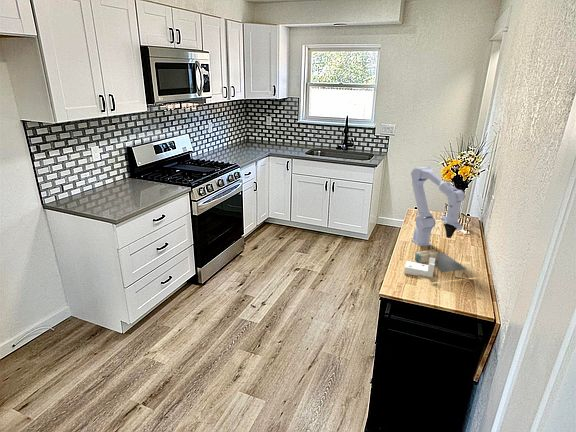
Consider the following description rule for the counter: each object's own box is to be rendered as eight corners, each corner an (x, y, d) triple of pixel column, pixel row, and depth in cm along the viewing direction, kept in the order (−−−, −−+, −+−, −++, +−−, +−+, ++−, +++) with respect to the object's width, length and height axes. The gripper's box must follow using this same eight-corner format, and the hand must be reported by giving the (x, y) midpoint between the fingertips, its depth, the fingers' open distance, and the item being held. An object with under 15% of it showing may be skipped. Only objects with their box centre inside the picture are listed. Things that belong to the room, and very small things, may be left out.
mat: (420, 255, 198) (420, 254, 198) (443, 253, 201) (443, 252, 201) (441, 273, 181) (441, 271, 181) (466, 270, 184) (466, 269, 184)
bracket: (433, 272, 182) (435, 258, 179) (432, 279, 176) (434, 264, 173) (405, 267, 187) (407, 253, 184) (403, 273, 181) (405, 259, 178)
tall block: (433, 256, 195) (415, 259, 194) (433, 249, 193) (415, 252, 192) (437, 260, 191) (419, 263, 190) (438, 253, 189) (419, 256, 188)
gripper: (438, 209, 197) (434, 232, 201) (455, 218, 183) (450, 243, 188) (449, 208, 198) (445, 231, 203) (467, 217, 185) (462, 242, 190)
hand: (448, 237), depth 196 cm, fingers closed
